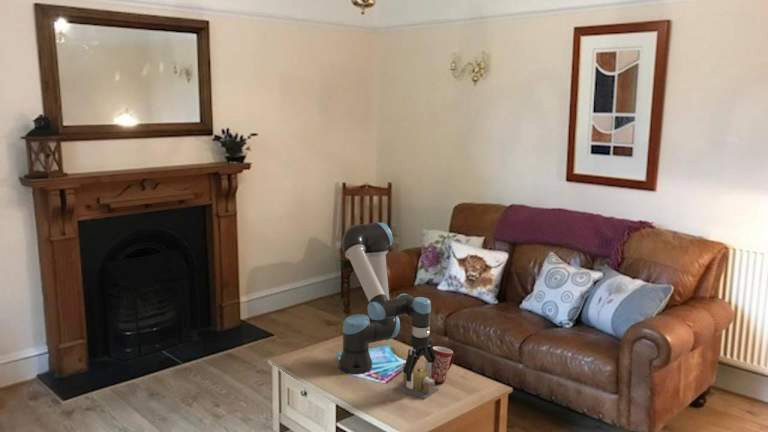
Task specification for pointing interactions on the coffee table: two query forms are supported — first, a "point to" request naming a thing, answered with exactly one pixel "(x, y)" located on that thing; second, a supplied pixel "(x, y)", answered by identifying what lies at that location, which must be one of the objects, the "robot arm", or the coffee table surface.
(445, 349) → the mug
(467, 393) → the coffee table surface
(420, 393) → the shaft bench
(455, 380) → the coffee table surface
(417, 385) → the coupler
